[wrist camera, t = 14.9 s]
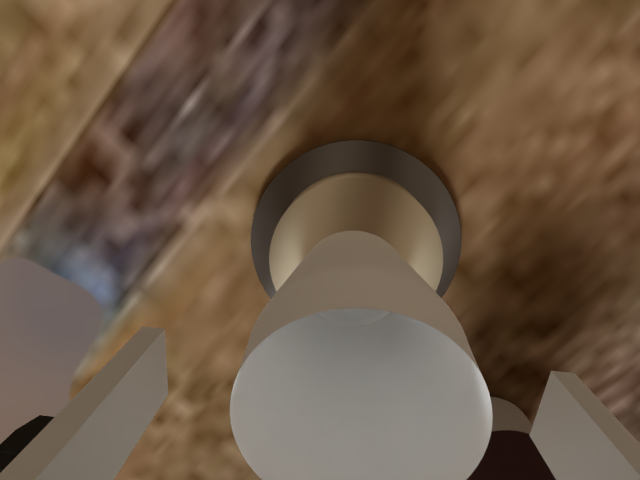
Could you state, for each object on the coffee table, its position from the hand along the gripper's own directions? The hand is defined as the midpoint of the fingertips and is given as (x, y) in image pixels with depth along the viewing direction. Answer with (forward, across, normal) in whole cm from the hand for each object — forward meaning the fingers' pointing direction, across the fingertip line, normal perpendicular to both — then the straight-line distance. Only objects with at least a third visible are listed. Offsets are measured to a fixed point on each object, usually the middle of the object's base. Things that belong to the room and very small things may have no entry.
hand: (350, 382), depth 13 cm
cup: (+11, 0, -1) cm, 11 cm away
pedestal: (+15, +1, 0) cm, 15 cm away
